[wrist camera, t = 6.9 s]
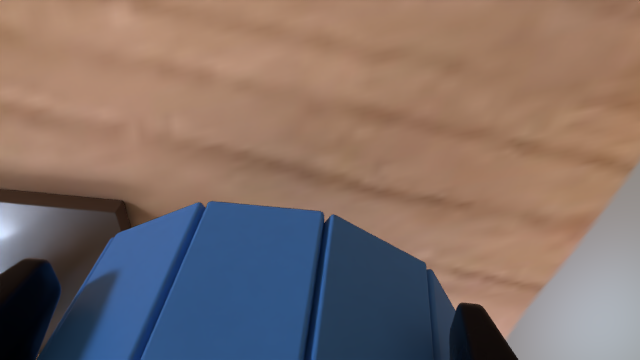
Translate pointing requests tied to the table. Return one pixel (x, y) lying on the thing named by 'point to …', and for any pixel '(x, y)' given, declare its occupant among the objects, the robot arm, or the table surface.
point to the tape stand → (58, 236)
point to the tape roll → (253, 292)
